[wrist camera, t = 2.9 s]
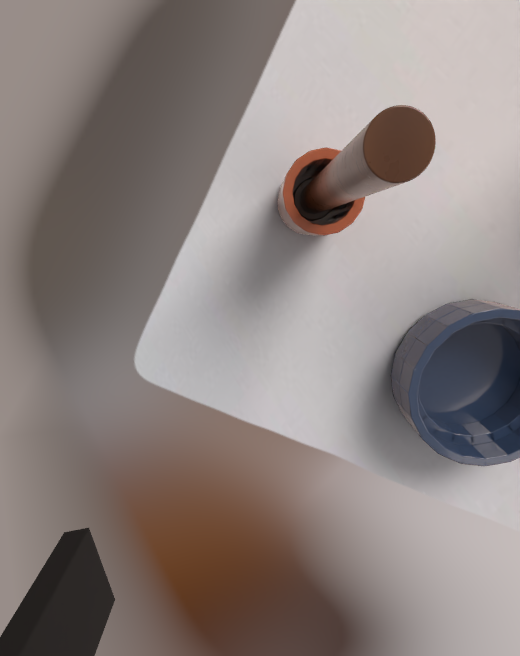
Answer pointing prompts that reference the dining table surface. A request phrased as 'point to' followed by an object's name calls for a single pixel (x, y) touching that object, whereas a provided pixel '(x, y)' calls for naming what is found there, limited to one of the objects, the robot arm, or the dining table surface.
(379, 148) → the stirring stick
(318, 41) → the dining table surface
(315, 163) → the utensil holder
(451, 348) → the bowl
